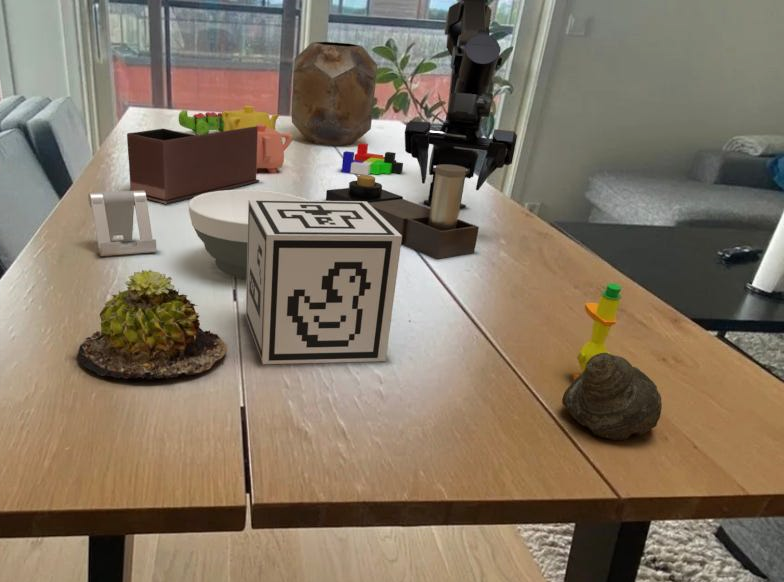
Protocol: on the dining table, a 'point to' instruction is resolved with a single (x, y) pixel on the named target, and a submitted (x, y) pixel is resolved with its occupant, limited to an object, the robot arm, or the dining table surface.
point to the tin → (446, 196)
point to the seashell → (613, 398)
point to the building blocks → (370, 162)
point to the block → (320, 280)
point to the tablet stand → (121, 221)
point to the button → (366, 180)
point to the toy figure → (600, 323)
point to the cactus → (150, 333)
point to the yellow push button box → (361, 193)
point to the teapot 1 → (247, 119)
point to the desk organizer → (190, 162)
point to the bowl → (228, 225)
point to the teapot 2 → (271, 148)
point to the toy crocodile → (202, 122)
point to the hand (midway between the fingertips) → (450, 185)
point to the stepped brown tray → (427, 230)
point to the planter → (333, 93)
